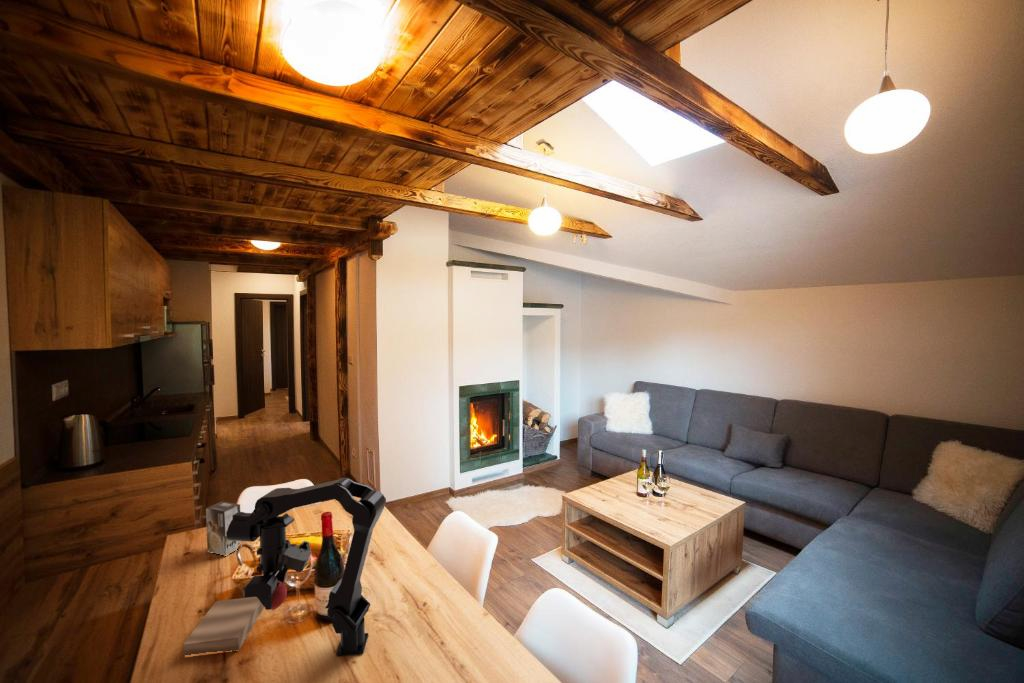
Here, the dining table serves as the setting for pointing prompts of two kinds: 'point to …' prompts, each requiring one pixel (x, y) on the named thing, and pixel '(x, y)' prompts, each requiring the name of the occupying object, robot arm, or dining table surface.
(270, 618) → the dining table surface
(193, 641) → the grey flat block
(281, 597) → the onion
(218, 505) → the coffee box
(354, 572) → the robot arm
